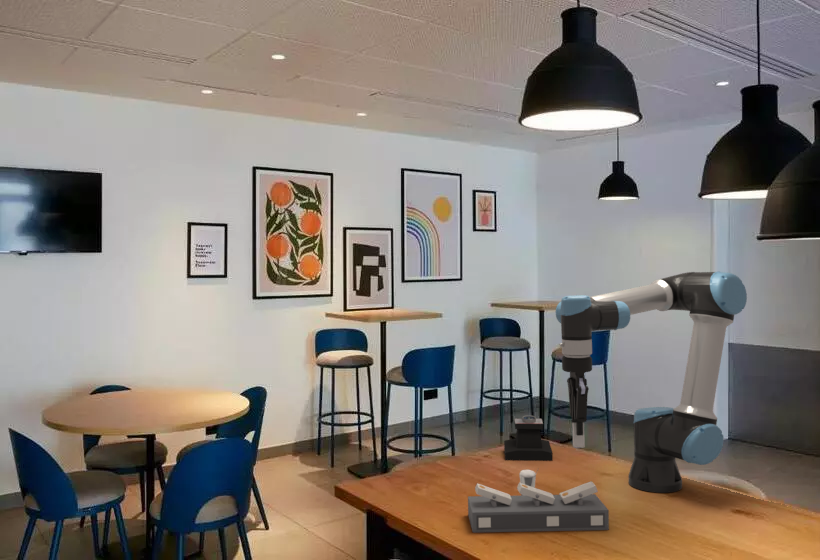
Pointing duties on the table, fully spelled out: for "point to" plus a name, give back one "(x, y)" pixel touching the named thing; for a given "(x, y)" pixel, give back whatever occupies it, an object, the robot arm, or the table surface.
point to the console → (537, 514)
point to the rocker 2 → (578, 492)
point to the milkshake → (528, 477)
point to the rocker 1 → (493, 494)
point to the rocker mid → (535, 493)
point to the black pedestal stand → (528, 442)
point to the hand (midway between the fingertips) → (578, 446)
